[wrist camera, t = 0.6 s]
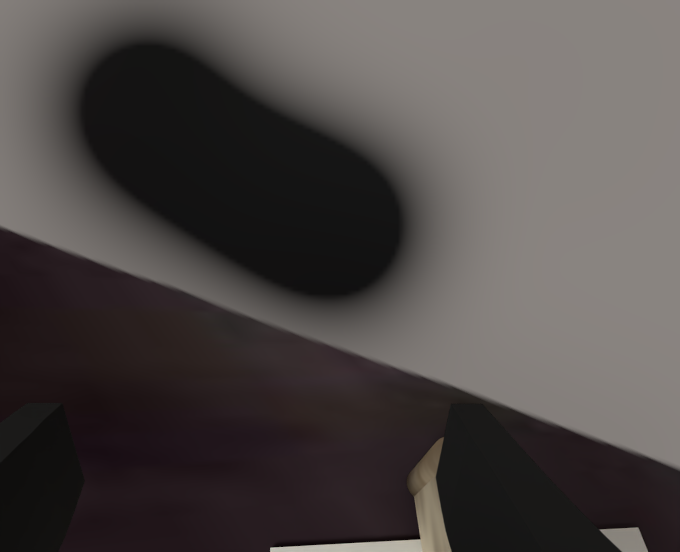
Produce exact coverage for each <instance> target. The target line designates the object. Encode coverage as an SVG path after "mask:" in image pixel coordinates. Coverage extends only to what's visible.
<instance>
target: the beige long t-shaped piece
mask: <svg viewBox="0 0 680 552" xmlns="http://www.w3.org/2000/svg"><path fill="white" fill-rule="evenodd" d="M443 440H444V437H443V438H440V439H439V440H438V441H437V442H436V443H435V444H434V445H433V446H432V447H431V449H430V450H429V451H428V452H427V453H426V454H425V456H424V457H423V458H422V459H421V460H420V461H419V463H418V464H417V465H416V466H415V467H414V468H413V470H412V471H411V472H410V473H409V475H408V477H407V487H408V490H409V491H410V493H411V494H412V495H413V496H414V499H415V506H416V512H417V519H418V526H419V532H420V539H421V545H422V552H452V551H451V548H450V545H449V541H448V538H447V534H446V531H445V526H444V520H443V515H442V510H441V505H440V499H439V494H438V488H437V482H436V473H437V468H438V463H439V459H440V454H441V449H442V444H443Z"/></svg>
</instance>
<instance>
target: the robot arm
mask: <svg viewBox="0 0 680 552" xmlns="http://www.w3.org/2000/svg"><path fill="white" fill-rule="evenodd" d="M84 481H85V480H84V477H83V473H82V470H81V466H80V463H79V460H78V456H77V453H76V449H75V446H74V442H73V439H72V435H71V432H70V428H69V425H68V422H67V418H66V415H65V411H64V408H63V404H62V403H27V404H26V405H24V406H23V407H22V408H20V409H19V410H17V411H16V412H15V413H13V414H12V415H10V416H9V417H8V418H6V419H5V420H4V421H2V422H1V423H0V552H58V551H59V548H60V546H61V544H62V542H63V540H64V538H65V535H66V532H67V530H68V527H69V524H70V522H71V519H72V516H73V514H74V511H75V508H76V505H77V502H78V499H79V496H80V493H81V490H82V487H83V484H84ZM436 482H437V488H438V494H439V499H440V505H441V510H442V515H443V520H444V526H445V531H446V534H447V538H448V541H449V545H450V548H451V551H452V552H622V551H621V550H620V549H619V548H618V547H616V546H615V545H614V544H613V543H612V542H611V541H610V540H609V539H608V538H607V537H606V536H605V535H604V534H603V533H602V532H601V531H600V530H599V529H598V528H597V527H596V526H595V525H594V524H593V523H592V522H591V521H590V520H589V519H588V518H587V517H586V516H585V515H584V514H583V513H582V512H581V511H580V510H579V509H578V508H577V507H576V506H575V505H574V504H573V503H572V502H571V501H570V500H569V499H568V498H567V497H566V496H565V494H564V493H563V492H562V491H561V490H560V489H559V488H558V487H557V486H556V485H555V484H554V483H553V482H552V481H551V480H550V479H549V478H548V477H547V476H546V474H545V473H544V472H543V471H542V470H541V469H540V468H539V467H538V466H537V465H536V464H535V462H534V461H533V460H532V459H531V458H530V457H529V456H528V455H527V454H526V452H525V451H524V450H523V449H522V448H521V447H520V446H519V445H518V444H517V442H516V441H515V440H514V439H513V438H512V437H511V436H510V435H509V433H508V432H507V431H506V430H505V429H504V428H503V427H502V426H501V424H500V423H499V422H498V421H497V420H496V419H495V418H494V417H493V415H492V414H491V413H490V412H489V411H488V410H487V409H486V408H485V407H484V405H483V404H451V406H450V411H449V416H448V420H447V425H446V430H445V435H444V440H443V444H442V449H441V454H440V459H439V463H438V468H437V473H436Z"/></svg>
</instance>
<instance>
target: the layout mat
mask: <svg viewBox="0 0 680 552" xmlns="http://www.w3.org/2000/svg"><path fill="white" fill-rule="evenodd" d="M600 531H601V532H602V533H603V534H604V535H605V536H606V537H607V538H608V539H609V540H610V541H611V542H612V543H613V544H614V545H615V546H616V547H618V548H619V549H620V550H621V551H622V552H648V550H647V548H646V545H645V543H644V540H643V538H642V536H641V533H640V531H639V528H638V527H637V528H619V529H601V530H600ZM270 552H422V545H421V539H419V540H401V541H383V542H364V543H346V544H328V545H310V546H292V547H274V548H270Z"/></svg>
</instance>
